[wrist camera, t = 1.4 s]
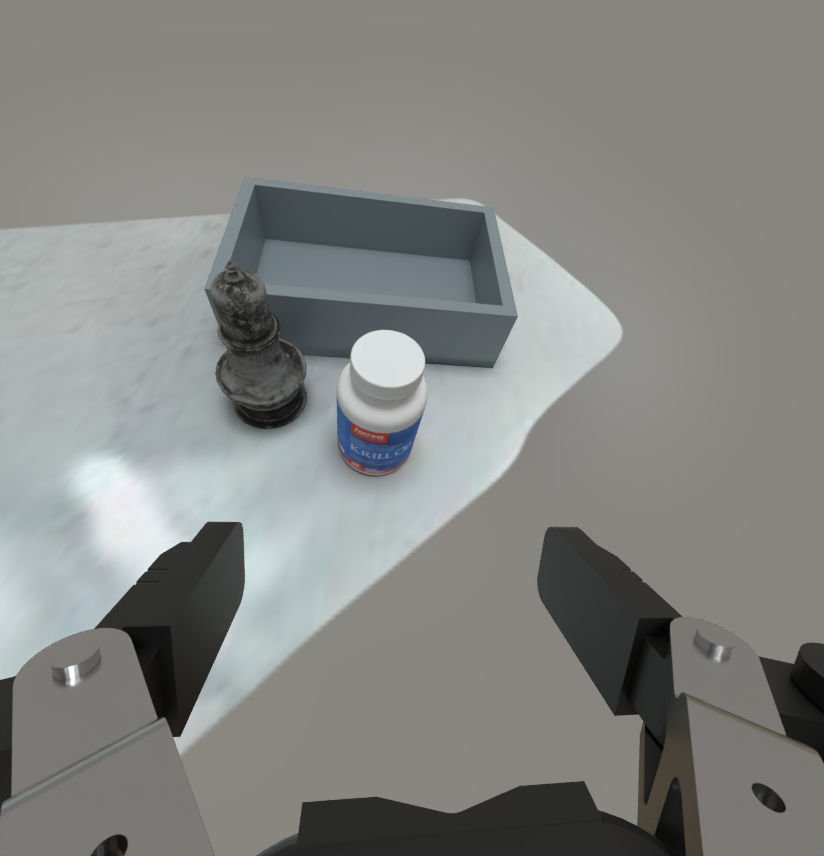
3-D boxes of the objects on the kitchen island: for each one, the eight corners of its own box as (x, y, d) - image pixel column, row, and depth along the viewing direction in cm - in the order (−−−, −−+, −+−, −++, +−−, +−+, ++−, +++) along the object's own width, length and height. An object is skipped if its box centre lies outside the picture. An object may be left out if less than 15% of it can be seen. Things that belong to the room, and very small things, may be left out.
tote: (227, 349, 32) (204, 288, 26) (258, 240, 39) (244, 176, 34) (492, 367, 34) (517, 316, 29) (475, 263, 41) (493, 207, 36)
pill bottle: (343, 482, 27) (339, 404, 19) (334, 417, 30) (327, 322, 21) (419, 471, 28) (448, 393, 20) (404, 409, 31) (424, 317, 23)
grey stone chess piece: (219, 428, 28) (144, 294, 18) (240, 364, 31) (186, 218, 21) (304, 435, 29) (278, 310, 18) (316, 371, 32) (299, 233, 21)
